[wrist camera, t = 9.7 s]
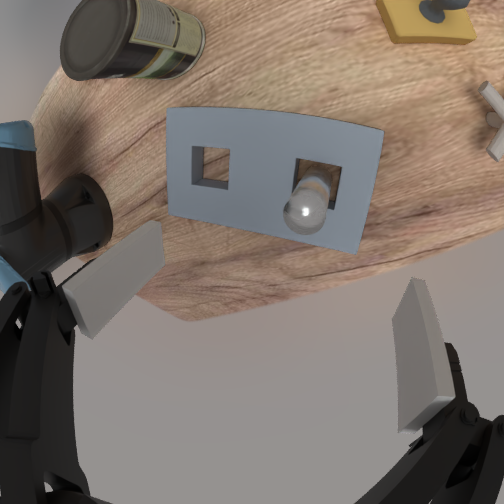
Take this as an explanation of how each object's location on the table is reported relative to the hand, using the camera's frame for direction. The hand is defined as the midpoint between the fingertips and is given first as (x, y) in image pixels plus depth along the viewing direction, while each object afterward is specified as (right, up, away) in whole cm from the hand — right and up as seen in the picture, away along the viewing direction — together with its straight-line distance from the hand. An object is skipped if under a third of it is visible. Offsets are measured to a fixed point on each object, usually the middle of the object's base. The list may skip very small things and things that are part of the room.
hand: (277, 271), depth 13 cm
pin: (+6, +9, +16) cm, 20 cm away
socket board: (+1, +11, +18) cm, 21 cm away
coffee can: (-11, +27, +13) cm, 32 cm away
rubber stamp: (+18, +26, +3) cm, 32 cm away
